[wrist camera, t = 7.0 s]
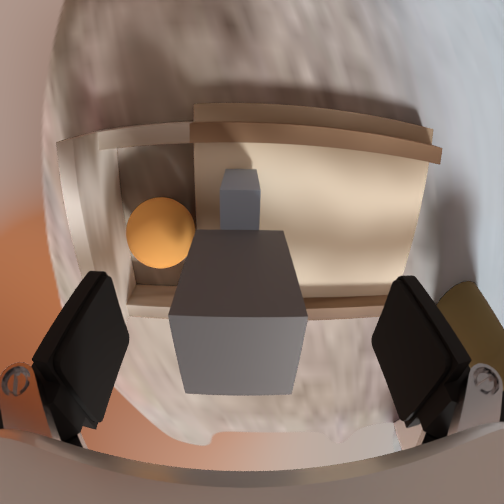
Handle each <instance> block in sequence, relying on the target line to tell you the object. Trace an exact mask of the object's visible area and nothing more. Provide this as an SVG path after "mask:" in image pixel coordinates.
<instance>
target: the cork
mask: <svg viewBox="0 0 504 504" xmlns="http://www.w3.org/2000/svg"><path fill="white" fill-rule="evenodd" d="M436 306H437V307H438V308H439V310H440V311H441V313H442V314H443V316H444V317H445V319H446V320H447V322H448V323H449V325H450V326H451V328H452V329H453V331H454V332H455V334H456V335H457V337H458V338H459V340H460V341H461V343H462V345H463V346H464V348H465V349H466V351H467V353H468V354H469V356H470V358H471V359H472V361H471V362H470V364H469V367H470V369H471V368H472V367H473V366H474V365H476V364H478V363H483V364H487V365H489V366H491V367H493V368H494V369H495V370H496V371H497V372H498V374H499V375H500V377H501V380H502V384H503V391H504V329H503V327H502V325H501V324H500V322H499V320H498V318H497V317H496V315H495V314H494V312H493V310H492V309H491V307H490V306H489V304H488V302H487V301H486V299H485V298H484V296H483V295H482V293H481V292H480V290H479V289H478V287H477V286H476V285H475V283H474V282H470V281H466V282H461V283H459V284H457V285H455V286H454V287H453V288H451V289H450V290H449V291H448V292H446V294H445V295H444V296H443V297H442V298H441V299H440V300H439V302H438V304H437V305H436Z"/></svg>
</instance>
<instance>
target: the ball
mask: <svg viewBox="0 0 504 504" xmlns="http://www.w3.org/2000/svg"><path fill="white" fill-rule="evenodd" d="M194 234H195V224H194V221H193V218H192V216H191V214H190V213H189V211H188V210H187V209H186V208H185V207H184V206H183V205H182V204H181V203H179V202H177V201H176V200H173V199H170V198H165V197H157V198H152V199H149V200H147V201H145V202H143V203H141V204H140V205H139V206H138V207H137V208H136V209H135V210H134V211H133V213H132V214H131V216H130V218H129V220H128V223H127V228H126V239H127V243H128V246H129V249H130V251H131V252H132V254H133V255H134V256H135V257H136V258H137V259H138V260H139V261H140V262H141V263H143V264H145V265H147V266H149V267H153V268H168V267H171V266H174V265H176V264H178V263H180V262H181V261H182V260H183V259H185V257H186V256H187V255H188V252H189V249H190V246H191V243H192V240H193V237H194Z"/></svg>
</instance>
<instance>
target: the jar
mask: <svg viewBox="0 0 504 504" xmlns="http://www.w3.org/2000/svg"><path fill="white" fill-rule="evenodd" d="M394 427H395V432H396V435H397V438H398V441H399V444H400V447H401V450H405V449H409V448H412V447H415V446H416V444H417V441H418V439H419V436H420V434H421V431H422V426H421V423H420V424H419V425H417V426H413V427H410V428H406V426H405V423H404V421H401V420H400V419H399V420H397V421H396V422H395V423H394Z"/></svg>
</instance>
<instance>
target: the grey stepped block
mask: <svg viewBox="0 0 504 504" xmlns="http://www.w3.org/2000/svg"><path fill="white" fill-rule="evenodd" d="M260 198H261V189H260V184H259V179H258V174H257V169H225V173H224V176H223V180H222V183H221V187H220V230H207V229H196V232H195V234H194V237H193V240H192V243H191V246H190V249H189V252H188V255H187V258H186V261H185V264H184V267H183V270H182V273H181V276H180V279H179V282H178V285H177V288H176V291H175V294H174V297H173V301H172V304H171V307H170V310H169V314H168V317H169V322H170V328H171V333H172V337H173V342H174V347H175V351H176V356H177V360H178V365H179V369H180V373H181V377H182V381H183V385H184V389H185V393H189V394H206V395H286V394H292V390H293V386H294V381H295V377H296V373H297V368H298V364H299V359H300V354H301V350H302V345H303V340H304V335H305V330H306V325H307V320H308V314H307V311H306V307H305V304H304V300H303V296H302V293H301V289H300V286H299V282H298V279H297V275H296V272H295V268H294V265H293V261H292V258H291V255H290V251H289V248H288V244H287V241H286V238H285V234H284V231H283V230H259V223H260Z"/></svg>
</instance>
